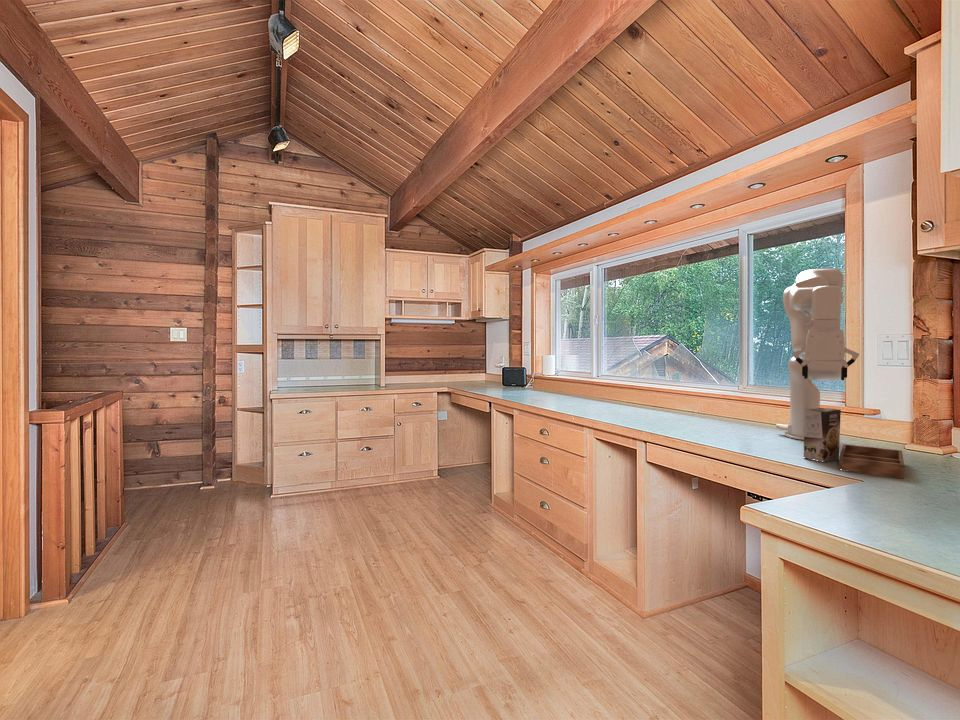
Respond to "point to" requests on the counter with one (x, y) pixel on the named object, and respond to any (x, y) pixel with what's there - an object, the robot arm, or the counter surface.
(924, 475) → the counter surface
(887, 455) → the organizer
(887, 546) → the counter surface
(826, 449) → the coffee box
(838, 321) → the robot arm
